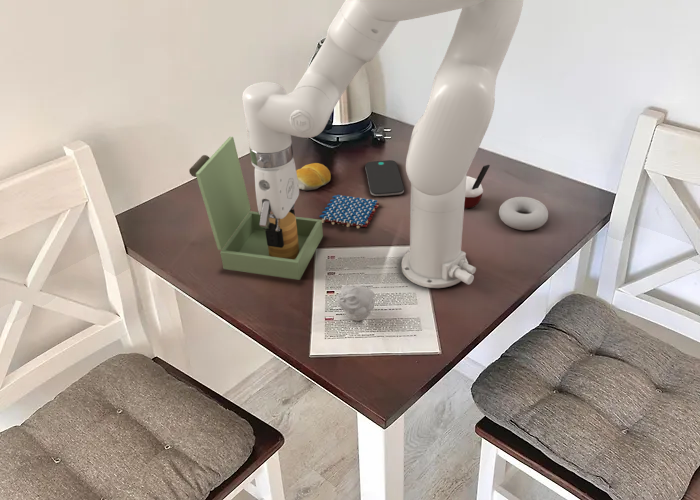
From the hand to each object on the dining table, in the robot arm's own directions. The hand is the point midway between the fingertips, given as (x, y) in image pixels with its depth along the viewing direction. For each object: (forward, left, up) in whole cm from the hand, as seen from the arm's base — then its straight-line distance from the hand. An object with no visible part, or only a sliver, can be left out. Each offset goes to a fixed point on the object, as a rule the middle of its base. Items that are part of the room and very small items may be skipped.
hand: (282, 235), depth 128 cm
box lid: (+9, +5, +8) cm, 13 cm away
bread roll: (+18, -23, -5) cm, 30 cm away
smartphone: (+6, -35, -5) cm, 36 cm away
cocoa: (-15, -39, -5) cm, 42 cm away
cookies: (0, 0, -4) cm, 4 cm away
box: (+2, +1, -5) cm, 5 cm away
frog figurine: (-23, +3, -5) cm, 24 cm away
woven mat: (+1, -19, -5) cm, 20 cm away
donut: (-27, -42, -5) cm, 50 cm away
